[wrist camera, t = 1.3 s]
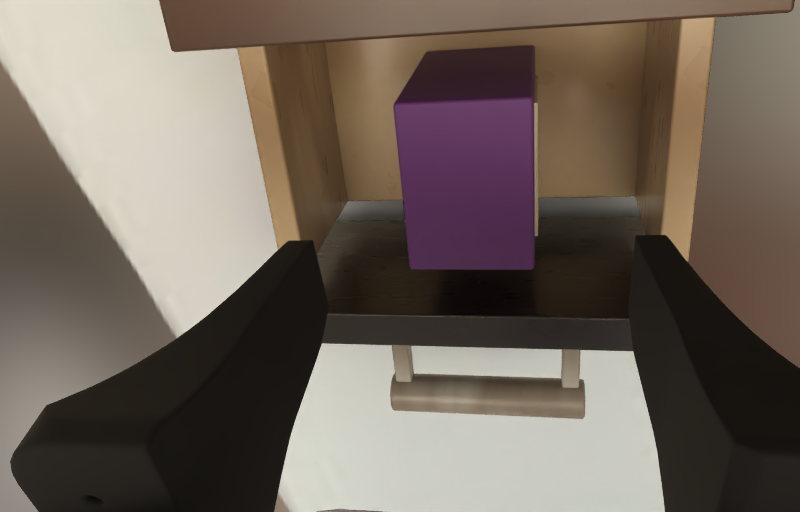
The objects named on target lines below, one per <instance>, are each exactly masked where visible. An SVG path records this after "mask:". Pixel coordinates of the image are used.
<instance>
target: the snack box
mask: <svg viewBox="0 0 800 512" xmlns="http://www.w3.org/2000/svg"><path fill="white" fill-rule="evenodd" d="M393 109H394V119H395V129H396V139H397V148H398V158H399V168H400V177H401V187H402V197H403V207H404V216H405V226H406V236H407V245H408V255H409V265H410V268H411V269H467V270H531V269H533V268H534V258H535V236H538V76H535V47H534V46H533V45H528V46H512V47H495V48H478V49H461V50H445V51H428V52H426V53H425V54H424V56H423V58H422V59H421V61H420V62H419V64H418V66H417V67H416V69H415V71H414V72H413V74H412V75H411V77H410V79H409V80H408V82H407V83H406V85H405V87H404V88H403V90H402V91H401V93H400V95H399V96H398V98H397V100H396V101H395V103H394V105H393Z"/></svg>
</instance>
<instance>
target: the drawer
mask: <svg viewBox="0 0 800 512" xmlns="http://www.w3.org/2000/svg"><path fill="white" fill-rule="evenodd" d="M715 22H716V17H712V18H696V19H681V20H665V21H650V22H634V23H618V24H603V25H587V26H572V27H556V28H541V29H525V30H510V31H494V32H478V33H463V34H447V35H432V36H416V37H401V38H385V39H370V40H354V41H339V42H323V43H307V44H292V45H276V46H261V47H245V48H237V49H238V54H239V59H240V64H241V69H242V74H243V79H244V84H245V89H246V94H247V99H248V104H249V109H250V113H251V118H252V123H253V128H254V133H255V138H256V143H257V148H258V153H259V158H260V163H261V168H262V173H263V178H264V183H265V187H266V192H267V197H268V202H269V207H270V212H271V217H272V222H273V227H274V232H275V237H276V242H277V247H278V250H279V249H280V248H281V247H282V246H283V245H284V244H285V243H286V242H287V241H292V240H313V242H314V247H315V251H316V255H317V259H318V263H319V267H320V271H321V276H322V280H323V284H324V288H325V292H326V296H327V301H328V305H329V308H328V314H327V319H326V325H325V330H324V335H323V339H322V343H330V344H370V345H392V351H393V359H394V367H395V374H394V375H393V378H392V382H391V393H390V397H391V406H392V409H393V410H395V411H417V412H440V413H462V414H485V415H507V416H530V417H552V418H575V419H583V418H584V416H585V385H584V380H582V379H579V374H580V350H606V351H633V346H632V338H631V329H630V320H629V310H628V304H629V294H630V285H631V275H632V265H633V255H634V246H635V236H636V235H666V236H667V237H668V238H669V239H670V240H671V241H672V242H673V244H674V245H675V246H676V248H677V249H678V250H679V252H680V253H681V254H682V256H683V257H684V258H685V260H686V261H687V262H688V260H689V250H690V242H691V233H692V224H693V216H694V215H693V214H694V207H695V198H696V189H697V180H698V171H699V163H700V153H701V145H702V136H703V127H704V119H705V110H706V101H707V92H708V84H709V75H710V66H711V57H712V48H713V40H714V31H715ZM528 45H533V46H534V47H535V76H538V198H562V197H622V196H635V198H636V201H637V205H638V208H639V212H640V215H641V218H555V219H538V236H535V258H534V268H533V269H531V270H467V269H411V268H410V265H409V255H408V245H407V236H406V226H405V220H374V221H336V220H337V218H338V217H339V215H340V213H341V212H342V210H343V208H344V206H345V205H346V203H347V201H385V200H403V197H402V187H401V177H400V168H399V158H398V148H397V139H396V129H395V119H394V109H393V105H394V103H395V101H396V100H397V98H398V96H399V95H400V93H401V91H402V90H403V88H404V87H405V85H406V83H407V82H408V80H409V79H410V77H411V75H412V74H413V72H414V71H415V69H416V67H417V66H418V64H419V62H420V61H421V59H422V58H423V56H424V54H425V53H426V52H428V51H445V50H461V49H478V48H495V47H512V46H528ZM411 346H448V347H488V348H527V349H562V369H561V379H559V378H529V377H500V376H470V375H440V374H414V369H413V360H412V351H411Z"/></svg>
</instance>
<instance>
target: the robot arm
mask: <svg viewBox="0 0 800 512" xmlns="http://www.w3.org/2000/svg"><path fill="white" fill-rule="evenodd" d="M328 308H329V305H328V301H327V296H326V292H325V288H324V284H323V280H322V276H321V271H320V267H319V263H318V259H317V255H316V251H315V247H314V242H313V240H292V241H287V242H286V243H285V244H284V245H283V246H282V247H281V248H280V249H279V250H278V251H277V252H275V253H274V254H273V255H272V256H271V257H270V258H269V259H268V260H267V261H266V262H265V263H264V264H263V265H262V266H261V267H260V268H259V269H258V270H257V271H256V272H255V273H254V274H253V275H252V276H251V277H250V278H249V279H248V280H247V281H246V282H245V283H244V284H243V285H242V286H241V287H239V288H238V289H237V290H236V291H235V292H234V293H233V294H232V295H231V296H229V297H228V298H227V299H226V300H225V301H224V302H223V303H221V304H220V305H219V306H218V307H217V308H216V309H214V310H213V311H212V312H211V313H210V314H209V315H208V316H206V317H205V318H204V319H203V320H201V321H200V322H199V323H197V324H196V325H195V326H193V327H192V328H191V329H189V330H188V331H187V332H185V333H184V334H182V335H181V336H180V337H178V338H177V339H175V340H174V341H172V342H171V343H169V344H168V345H166V346H165V347H163V348H161V349H160V350H159V351H157V352H155V353H153V354H152V355H150V356H148V357H147V358H145V359H143V360H142V361H140V362H139V363H137V364H135V365H133V366H131V367H130V368H128V369H126V370H124V371H122V372H120V373H118V374H116V375H114V376H112V377H110V378H109V379H106V380H105V381H102V382H100V383H98V384H96V385H94V386H92V387H90V388H87V389H85V390H83V391H80V392H78V393H76V394H73V395H71V396H68V397H66V398H64V399H61V400H59V401H57V402H54V403H51V404H49V405H47V406H46V407H45V408H44V410H43V411H42V412H41V414H40V415H39V417H38V418H37V420H36V421H35V423H34V424H33V425H32V427H31V428H30V430H29V431H28V433H27V434H26V436H25V437H24V438H23V440H22V441H21V443H20V444H19V446H18V447H17V449H16V450H15V451H14V453H13V456H12V458H11V461H10V463H11V470H12V473H13V476H14V477H15V479H16V481H17V483H18V485H19V486H20V487H21V489H22V490H23V491H24V493H25V494H26V495H27V497H28V498H29V499H30V501H31V502H32V503H33V505H34V506H35V507H36V509H37V510H38V511H39V512H274V509H275V504H276V499H277V494H278V489H279V484H280V479H281V474H282V470H283V465H284V461H285V457H286V452H287V448H288V444H289V439H290V435H291V432H292V429H293V425H294V422H295V419H296V416H297V413H298V410H299V408H300V405H301V402H302V399H303V396H304V393H305V390H306V388H307V385H308V382H309V379H310V376H311V373H312V371H313V368H314V365H315V362H316V359H317V356H318V353H319V350H320V347H321V344H322V339H323V335H324V330H325V325H326V319H327V314H328ZM628 310H629V320H630V329H631V338H632V346H633V351H634V355H635V359H636V363H637V368H638V372H639V376H640V380H641V384H642V388H643V392H644V396H645V400H646V404H647V408H648V412H649V416H650V420H651V424H652V428H653V432H654V437H655V442H656V447H657V452H658V459H659V467H660V474H661V482H662V489H663V497H664V505H665V512H800V368H798V367H797V366H795V365H794V364H792V363H791V362H790V361H788V360H787V359H786V358H784V357H783V356H782V355H780V354H779V353H778V352H776V351H775V350H774V349H772V348H771V347H770V346H769V345H768V344H766V343H765V342H764V341H763V340H761V339H760V338H759V337H758V336H757V335H756V334H754V333H753V332H752V331H751V330H750V329H749V328H748V327H747V326H746V325H745V324H743V323H742V322H741V321H740V320H739V319H738V318H737V317H736V316H735V315H734V314H733V313H732V312H731V311H730V310H729V309H728V308H727V307H726V306H725V305H724V304H723V303H722V302H721V300H720V299H719V298H718V297H717V296H716V295H715V294H714V293H713V292H712V291H711V289H710V288H709V287H708V286H707V285H706V284H705V283H704V282H703V280H702V279H701V278H700V277H699V276H698V274H697V273H696V272H695V271H694V270H693V268H692V267H691V266H690V265H689V263H688V262H687V261H686V260H685V258H684V257H683V256H682V254H681V253H680V252H679V250H678V249H677V248H676V246H675V245H674V244H673V242H672V241H671V240H670V239H669V238H668V237H667V236H666V235H636V236H635V246H634V255H633V265H632V275H631V285H630V294H629V304H628ZM317 512H381V511H364V510H346V509H335V510H325V511H317Z"/></svg>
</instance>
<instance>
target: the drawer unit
mask: <svg viewBox="0 0 800 512" xmlns="http://www.w3.org/2000/svg"><path fill="white" fill-rule="evenodd" d="M159 1H160V6H161V10H162V14H163V18H164V22H165V26H166V30H167V34H168V38H169V42H170V46H171V50H172V51H174V52H183V51H199V50H214V49H230V48H245V47H261V46H276V45H292V44H307V43H323V42H339V41H354V40H370V39H385V38H401V37H416V36H432V35H447V34H463V33H478V32H494V31H510V30H525V29H541V28H556V27H572V26H587V25H603V24H618V23H634V22H650V21H665V20H681V19H696V18H712V17H726V16H742V15H758V14H774V13H788V12H791V11H792V10H793V7H794V1H795V0H159Z"/></svg>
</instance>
